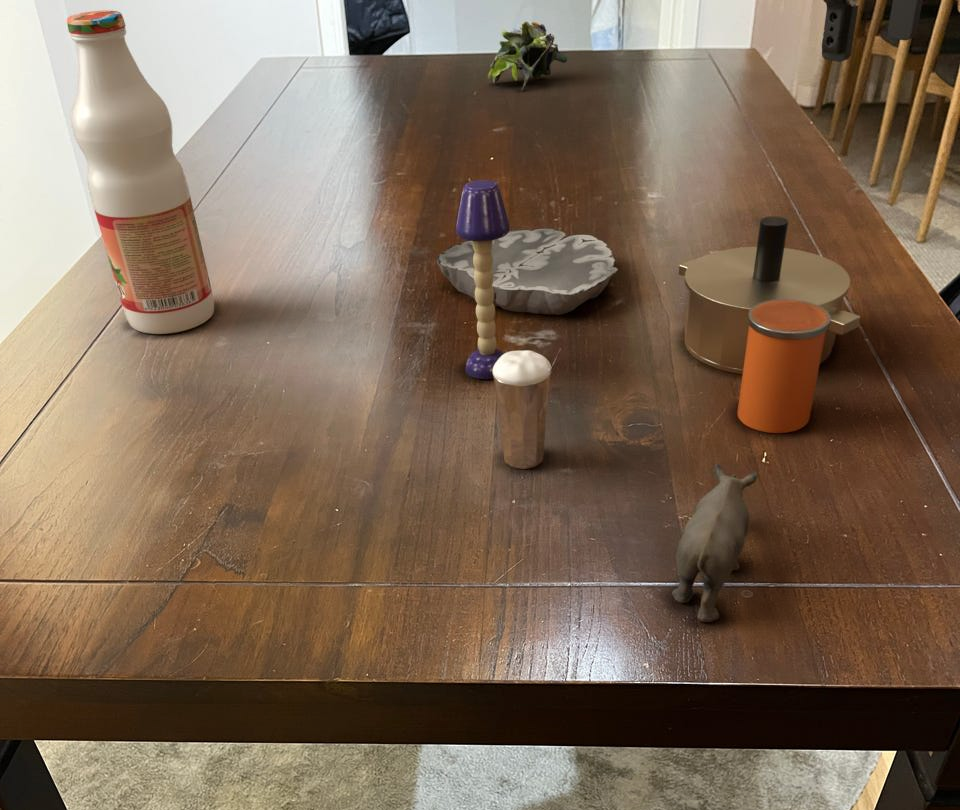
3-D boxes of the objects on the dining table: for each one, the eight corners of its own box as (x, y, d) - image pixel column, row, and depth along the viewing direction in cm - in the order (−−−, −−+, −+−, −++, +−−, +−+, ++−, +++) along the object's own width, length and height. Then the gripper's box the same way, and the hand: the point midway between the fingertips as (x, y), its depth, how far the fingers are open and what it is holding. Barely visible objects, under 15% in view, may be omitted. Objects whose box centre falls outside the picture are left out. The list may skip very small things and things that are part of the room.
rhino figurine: (760, 515, 76) (772, 445, 72) (723, 628, 66) (734, 555, 62) (706, 505, 77) (714, 436, 73) (662, 615, 68) (669, 543, 64)
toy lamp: (458, 361, 97) (446, 180, 86) (504, 353, 98) (498, 172, 87) (473, 383, 94) (462, 197, 82) (520, 374, 94) (516, 188, 83)
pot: (727, 293, 106) (734, 235, 102) (886, 352, 94) (901, 289, 90) (634, 333, 100) (638, 273, 96) (792, 401, 88) (803, 337, 84)
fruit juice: (181, 341, 103) (100, 28, 85) (109, 329, 106) (15, 24, 88) (233, 305, 110) (169, 6, 91) (163, 294, 113) (87, 3, 94)
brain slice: (649, 273, 111) (651, 246, 109) (571, 333, 101) (571, 304, 99) (500, 243, 120) (500, 217, 118) (414, 295, 109) (412, 268, 107)
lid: (754, 245, 101) (762, 182, 97) (881, 287, 92) (896, 219, 88) (650, 288, 95) (655, 222, 91) (777, 337, 86) (788, 266, 82)
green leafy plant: (536, 113, 181) (576, 49, 174) (525, 117, 172) (567, 50, 165) (485, 72, 179) (524, 6, 173) (472, 74, 170) (512, 4, 164)
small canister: (767, 390, 90) (782, 292, 84) (827, 416, 86) (847, 315, 80) (719, 415, 87) (731, 315, 81) (778, 443, 83) (796, 340, 77)
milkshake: (552, 478, 81) (552, 362, 74) (489, 469, 82) (483, 355, 76) (567, 449, 84) (568, 336, 77) (506, 441, 85) (502, 329, 79)
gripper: (898, -208, 65) (853, 75, 75) (1020, -227, 71) (962, 37, 81) (803, -205, 69) (773, 61, 80) (925, -223, 75) (882, 26, 86)
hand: (868, 48), depth 81 cm, fingers open, 8 cm apart
